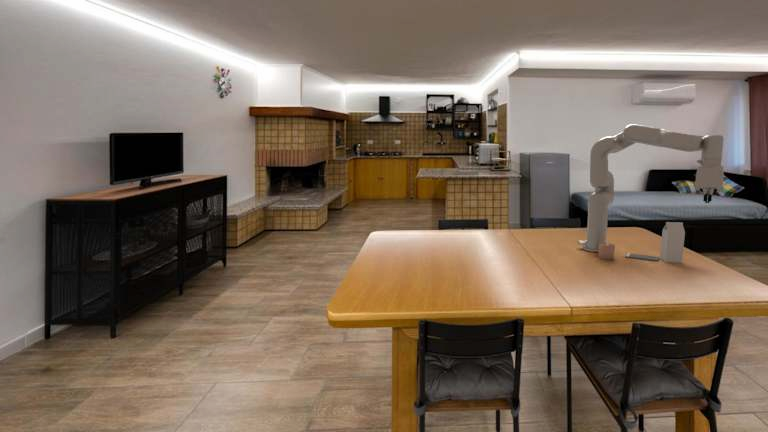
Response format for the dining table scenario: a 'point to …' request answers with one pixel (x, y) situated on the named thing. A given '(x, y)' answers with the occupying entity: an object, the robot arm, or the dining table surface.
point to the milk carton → (672, 242)
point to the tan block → (606, 251)
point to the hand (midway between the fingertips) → (707, 202)
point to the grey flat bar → (642, 257)
